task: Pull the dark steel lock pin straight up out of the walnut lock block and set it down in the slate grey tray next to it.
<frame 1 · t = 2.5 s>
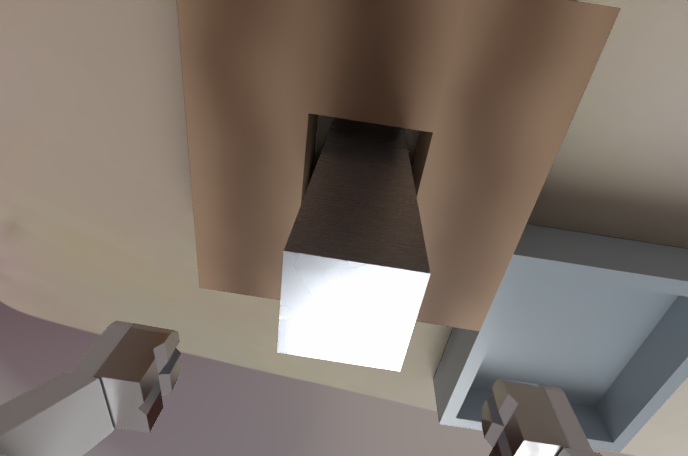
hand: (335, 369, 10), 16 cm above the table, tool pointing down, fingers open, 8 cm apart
lock block: (364, 153, 23), on the table
lock pin: (358, 207, 17), in the lock block
tray: (552, 325, 29), on the table
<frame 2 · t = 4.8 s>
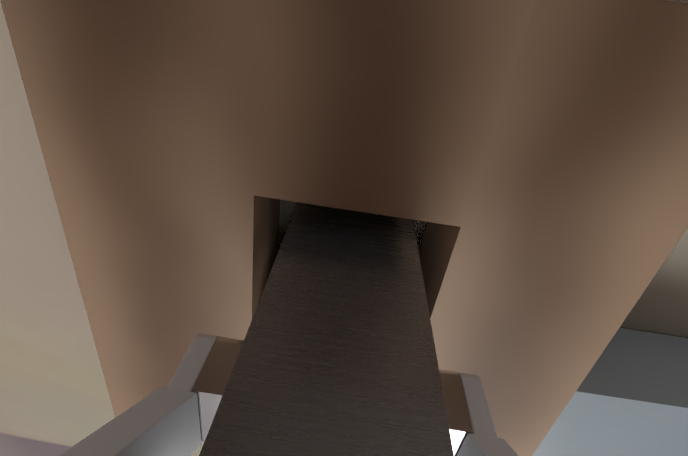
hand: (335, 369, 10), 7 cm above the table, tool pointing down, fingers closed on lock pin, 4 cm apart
lock block: (350, 229, 16), on the table
lock pin: (335, 366, 10), in the lock block, touching gripper
tray: (605, 439, 22), on the table
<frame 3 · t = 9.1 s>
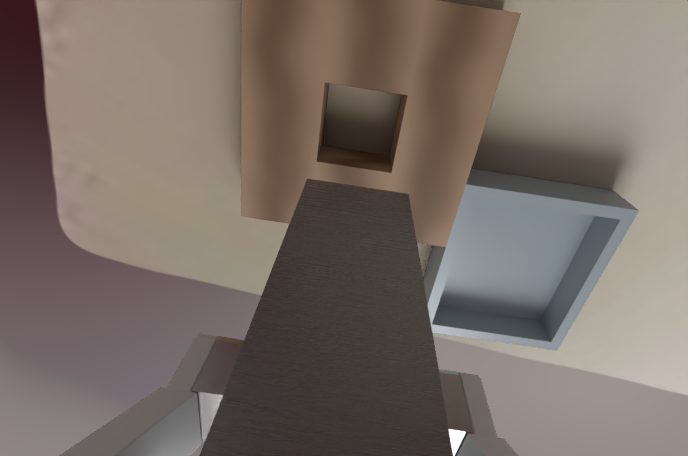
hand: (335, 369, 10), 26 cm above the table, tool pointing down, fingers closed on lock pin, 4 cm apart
lock block: (361, 116, 33), on the table
lock pin: (335, 365, 10), point 26 cm above the table, touching gripper
tray: (503, 252, 38), on the table
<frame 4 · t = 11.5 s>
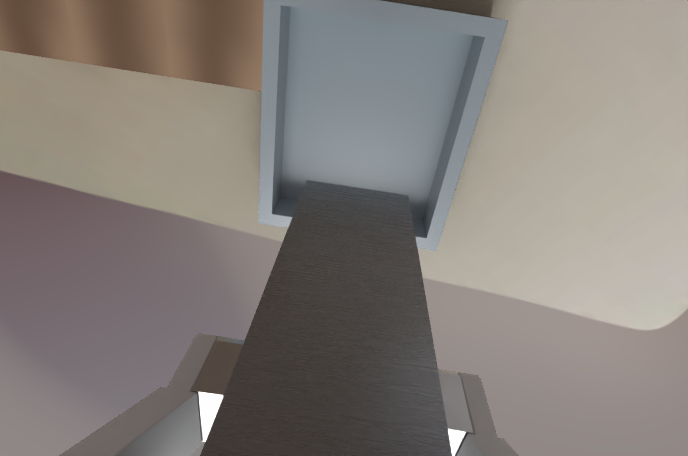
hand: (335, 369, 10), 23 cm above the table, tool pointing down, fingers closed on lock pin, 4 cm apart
lock pin: (335, 368, 10), point 23 cm above the table, touching gripper
tray: (365, 121, 30), on the table
when the fingers open (10 cm above the table, at t = 13.6 s): lock pin drops 2 cm, resting on tray.
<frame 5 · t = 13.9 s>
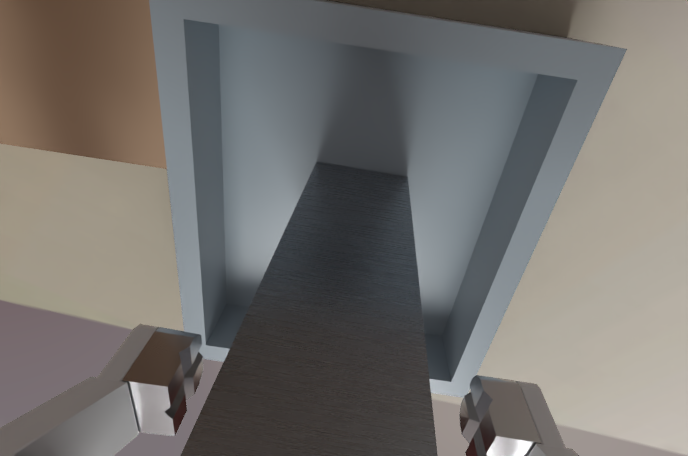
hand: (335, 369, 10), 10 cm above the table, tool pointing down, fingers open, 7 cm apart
lock pin: (337, 315, 12), in the tray, point 8 cm above the table
tray: (353, 198, 19), on the table
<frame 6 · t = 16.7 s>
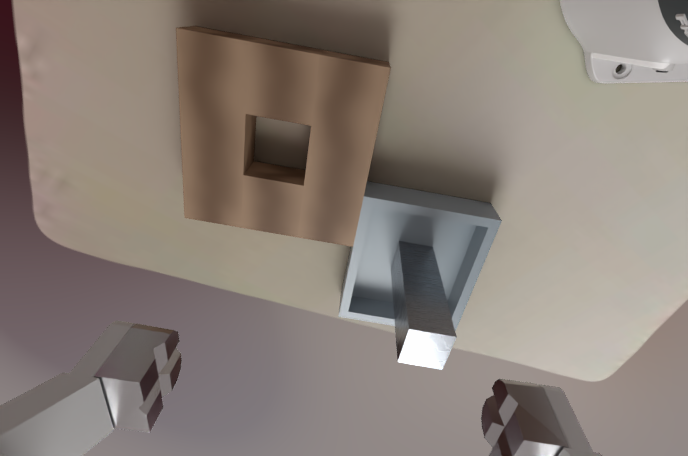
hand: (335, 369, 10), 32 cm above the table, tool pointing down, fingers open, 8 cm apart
lock block: (284, 139, 40), on the table
lock pin: (417, 296, 39), in the tray, point 8 cm above the table
tray: (409, 252, 46), on the table
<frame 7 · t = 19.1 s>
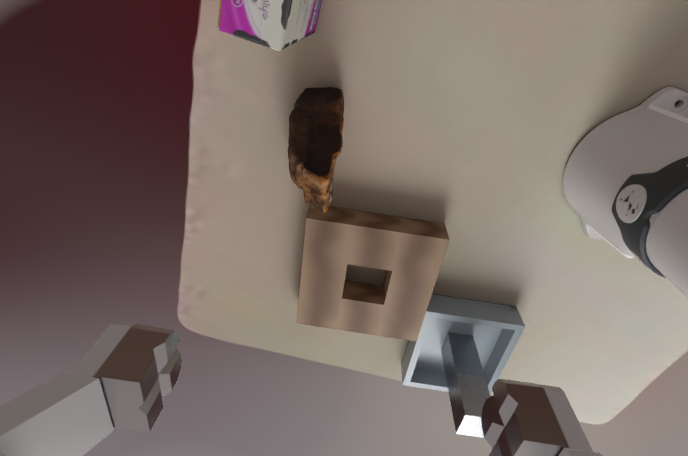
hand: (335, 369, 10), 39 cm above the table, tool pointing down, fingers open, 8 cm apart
lock block: (366, 267, 56), on the table
lock pin: (465, 380, 55), in the tray, point 8 cm above the table
tray: (455, 337, 62), on the table
decorative rock: (322, 135, 47), on the table
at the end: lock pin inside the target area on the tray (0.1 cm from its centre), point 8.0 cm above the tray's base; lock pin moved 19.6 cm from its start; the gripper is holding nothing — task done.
